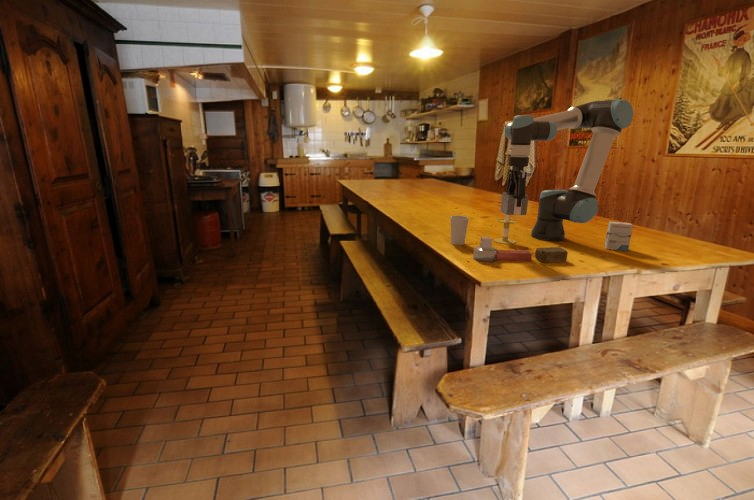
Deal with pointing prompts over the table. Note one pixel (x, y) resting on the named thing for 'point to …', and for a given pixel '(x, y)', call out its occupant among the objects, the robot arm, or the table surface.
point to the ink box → (618, 236)
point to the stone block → (551, 254)
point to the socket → (512, 203)
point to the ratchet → (498, 253)
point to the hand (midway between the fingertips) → (513, 212)
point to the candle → (505, 231)
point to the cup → (458, 229)
